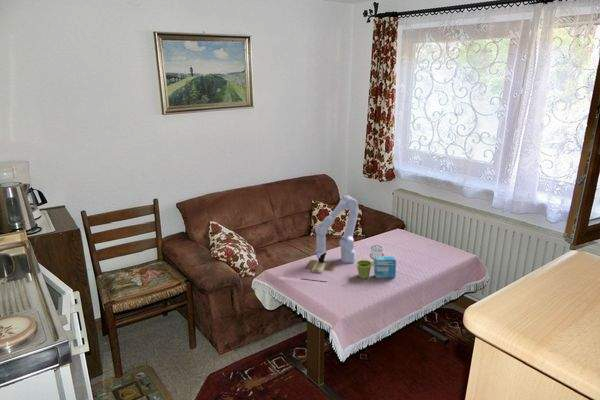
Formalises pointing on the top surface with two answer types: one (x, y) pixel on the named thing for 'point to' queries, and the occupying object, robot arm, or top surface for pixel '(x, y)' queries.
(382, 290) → the top surface
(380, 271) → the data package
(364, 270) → the plant pot
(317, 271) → the birch block
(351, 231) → the robot arm
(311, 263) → the walnut board
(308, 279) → the charcoal mat
